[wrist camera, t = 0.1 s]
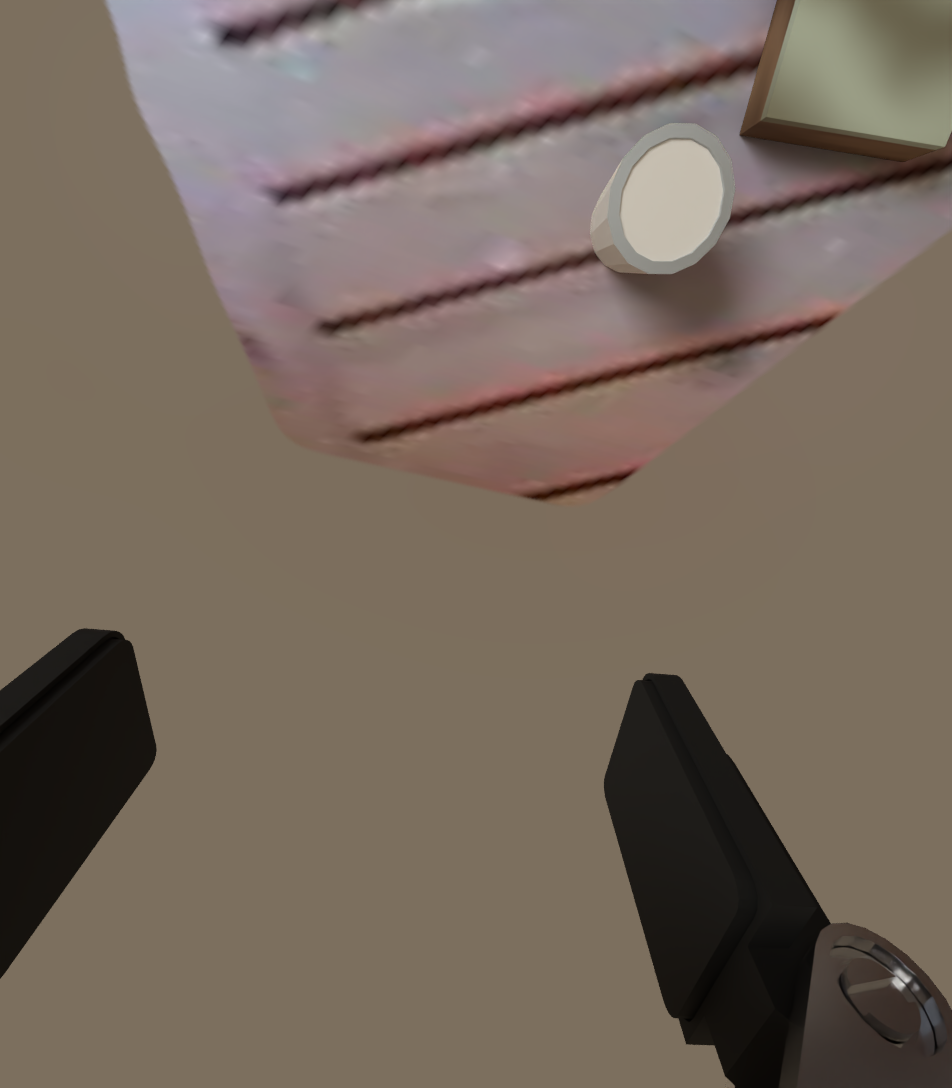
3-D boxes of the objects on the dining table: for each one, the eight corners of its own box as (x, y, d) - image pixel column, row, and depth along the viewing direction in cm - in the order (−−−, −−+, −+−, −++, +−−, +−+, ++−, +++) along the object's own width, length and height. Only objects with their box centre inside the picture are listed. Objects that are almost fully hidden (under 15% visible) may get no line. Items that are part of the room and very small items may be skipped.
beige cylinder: (699, 242, 33) (754, 223, 26) (609, 304, 34) (641, 301, 28) (657, 135, 30) (707, 86, 24) (562, 207, 32) (585, 180, 25)
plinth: (811, -124, 26) (852, -177, 23) (1002, -86, 26) (1063, -132, 24) (739, 135, 30) (766, 116, 28) (903, 162, 31) (945, 146, 28)
